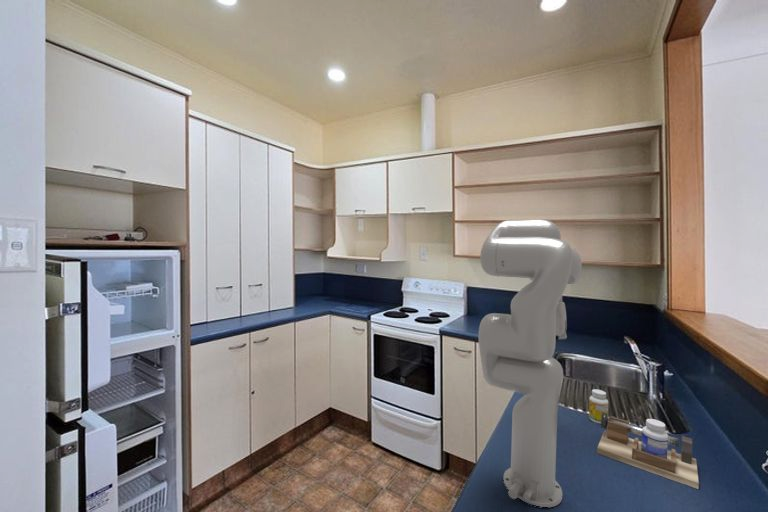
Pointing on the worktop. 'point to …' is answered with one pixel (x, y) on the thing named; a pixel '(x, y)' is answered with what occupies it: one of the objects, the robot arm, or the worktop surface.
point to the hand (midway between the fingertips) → (546, 354)
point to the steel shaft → (634, 429)
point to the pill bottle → (655, 438)
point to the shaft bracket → (649, 455)
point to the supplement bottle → (597, 405)
